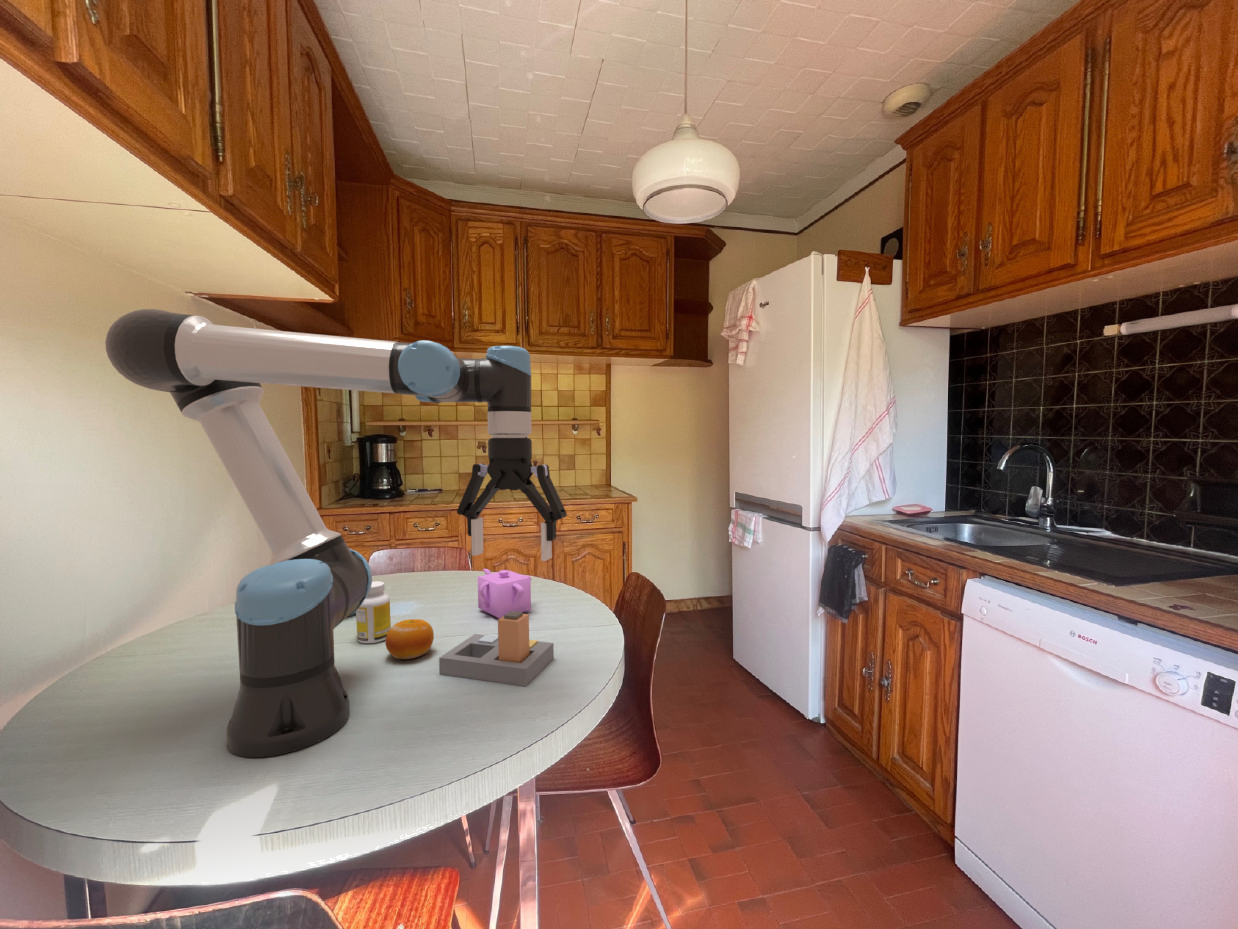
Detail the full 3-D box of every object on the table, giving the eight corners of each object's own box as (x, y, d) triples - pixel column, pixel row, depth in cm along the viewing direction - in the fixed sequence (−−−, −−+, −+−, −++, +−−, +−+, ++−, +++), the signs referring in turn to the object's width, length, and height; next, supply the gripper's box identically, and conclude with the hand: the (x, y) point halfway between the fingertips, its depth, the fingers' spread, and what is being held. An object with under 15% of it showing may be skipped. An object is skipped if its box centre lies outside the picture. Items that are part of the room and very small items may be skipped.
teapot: (461, 608, 128) (460, 568, 128) (510, 596, 138) (510, 558, 137) (498, 628, 115) (497, 583, 115) (550, 613, 125) (549, 571, 124)
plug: (519, 678, 91) (518, 618, 91) (499, 675, 92) (497, 616, 92) (529, 668, 95) (528, 611, 94) (510, 665, 96) (508, 609, 96)
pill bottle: (397, 633, 113) (395, 580, 112) (380, 645, 106) (378, 589, 106) (368, 632, 113) (366, 579, 113) (350, 644, 107) (348, 588, 106)
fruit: (442, 626, 107) (420, 600, 103) (439, 657, 99) (415, 630, 95) (406, 645, 107) (382, 620, 103) (399, 677, 99) (373, 651, 95)
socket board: (526, 686, 88) (525, 666, 88) (439, 674, 93) (439, 655, 93) (553, 658, 99) (553, 640, 99) (475, 648, 104) (474, 632, 104)
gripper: (584, 436, 91) (584, 556, 93) (460, 436, 99) (462, 548, 100) (568, 436, 84) (568, 566, 85) (435, 436, 91) (437, 556, 92)
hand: (511, 556), depth 93 cm, fingers open, 13 cm apart
